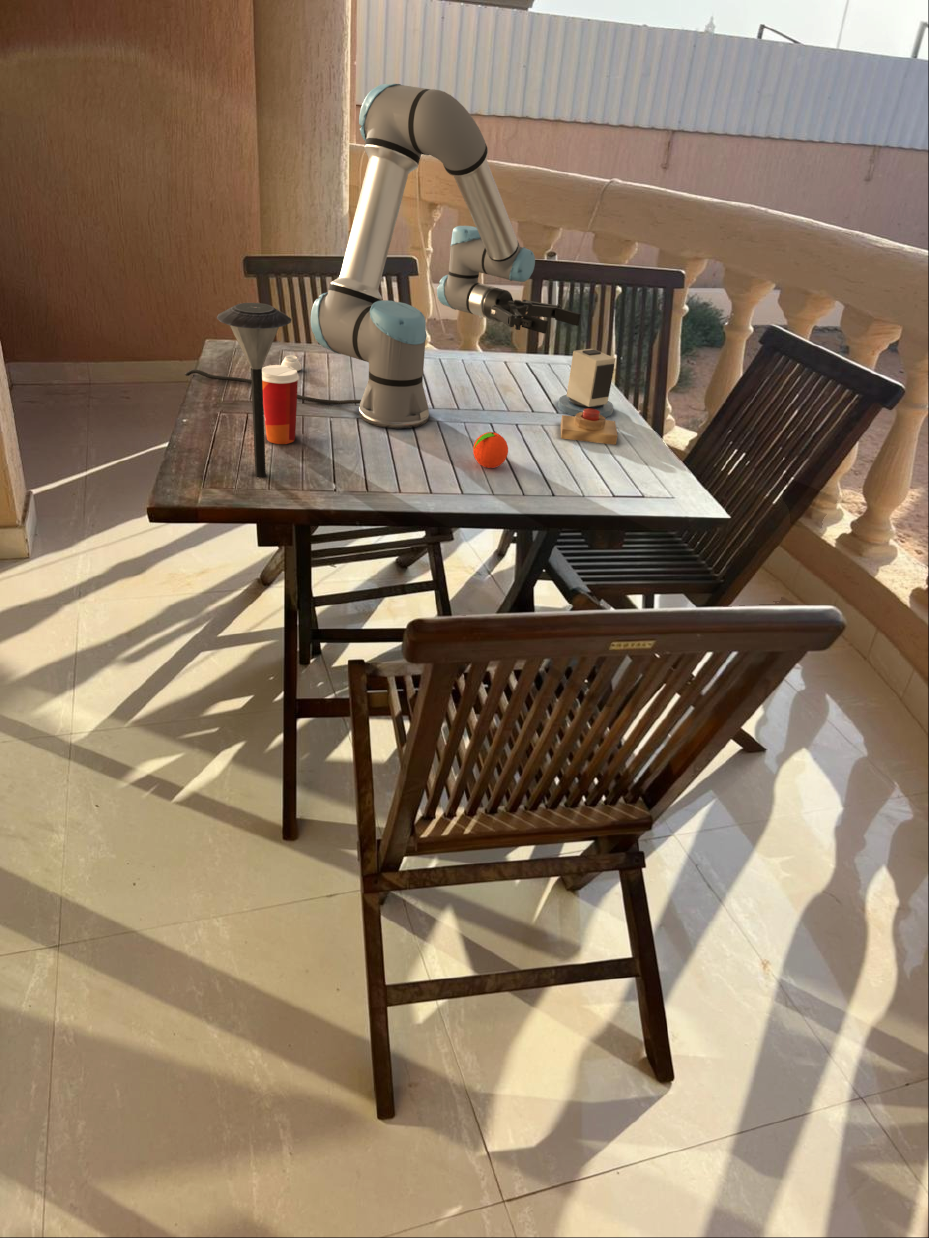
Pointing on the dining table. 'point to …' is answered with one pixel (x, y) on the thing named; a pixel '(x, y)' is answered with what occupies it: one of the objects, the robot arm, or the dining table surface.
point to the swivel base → (574, 409)
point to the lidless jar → (292, 362)
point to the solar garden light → (255, 357)
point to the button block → (588, 429)
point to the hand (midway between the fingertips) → (563, 323)
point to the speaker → (590, 378)
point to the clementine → (490, 450)
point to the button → (591, 414)
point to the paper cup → (280, 402)
